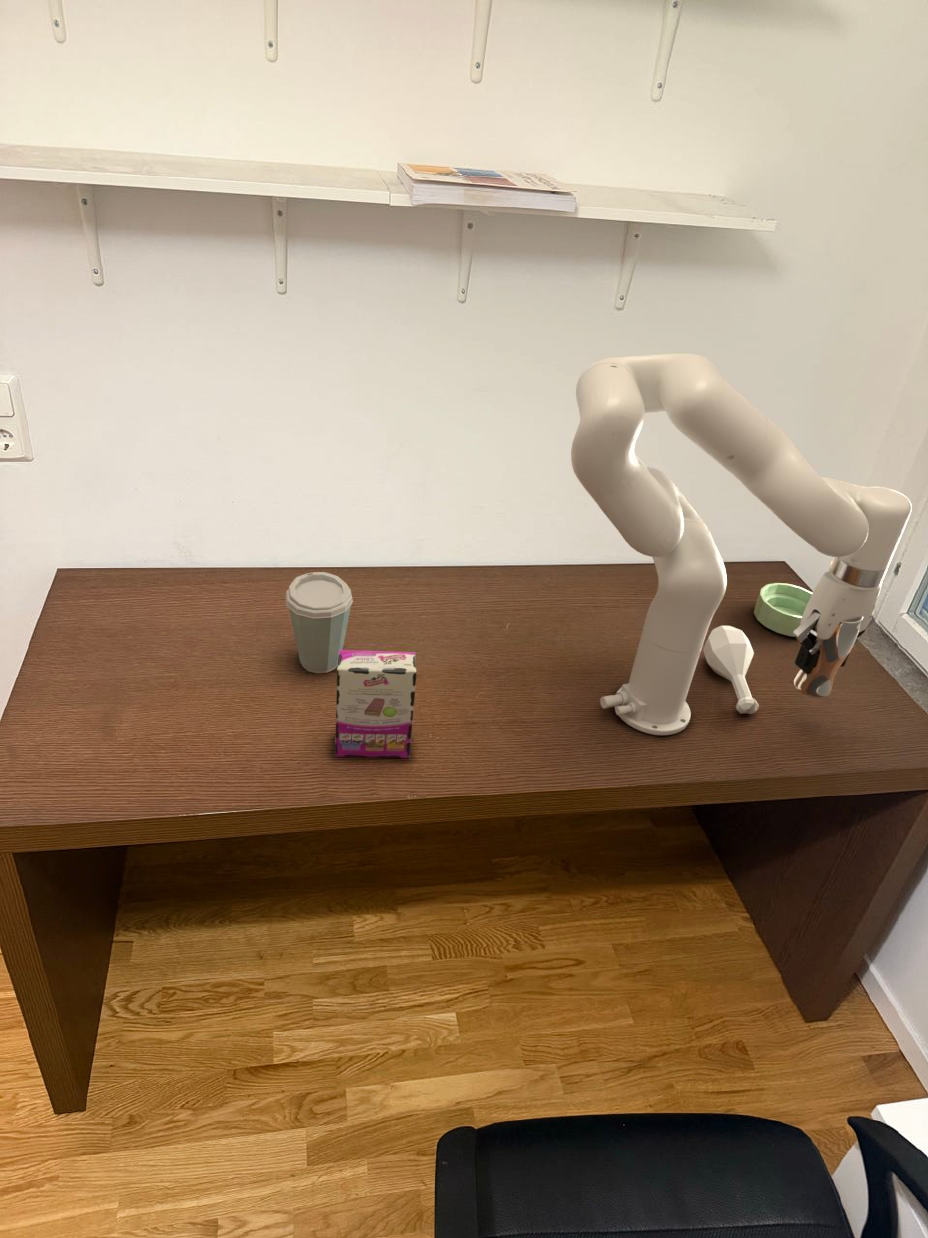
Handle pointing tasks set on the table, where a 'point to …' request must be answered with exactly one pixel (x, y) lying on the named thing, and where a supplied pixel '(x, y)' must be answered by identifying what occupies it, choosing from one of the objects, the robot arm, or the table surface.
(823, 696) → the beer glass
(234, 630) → the table surface
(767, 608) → the sage bowl
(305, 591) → the disposable coffee cup
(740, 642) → the chicken leg
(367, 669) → the candy bar box
